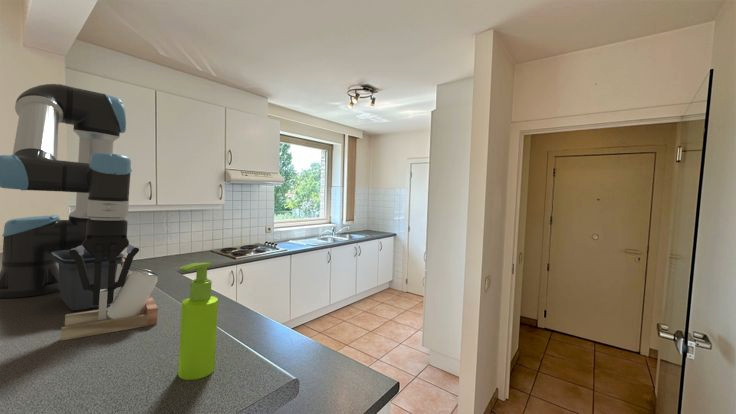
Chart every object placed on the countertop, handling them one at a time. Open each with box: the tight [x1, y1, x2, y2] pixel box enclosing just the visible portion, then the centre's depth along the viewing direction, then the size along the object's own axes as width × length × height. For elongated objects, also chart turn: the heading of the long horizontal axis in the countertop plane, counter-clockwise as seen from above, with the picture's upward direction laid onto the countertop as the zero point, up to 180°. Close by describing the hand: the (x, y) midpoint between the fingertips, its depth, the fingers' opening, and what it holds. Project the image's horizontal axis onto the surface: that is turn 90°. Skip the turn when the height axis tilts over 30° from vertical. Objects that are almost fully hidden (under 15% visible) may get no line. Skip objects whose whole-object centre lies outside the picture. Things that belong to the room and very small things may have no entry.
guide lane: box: [60, 296, 159, 342], centre depth 75 cm, size 10×17×4 cm, turn 130°
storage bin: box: [51, 249, 127, 312], centre depth 91 cm, size 21×16×14 cm
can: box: [107, 267, 159, 320], centre depth 78 cm, size 6×6×12 cm
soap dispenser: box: [177, 261, 219, 381], centre depth 57 cm, size 6×7×20 cm
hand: (102, 317), depth 74 cm, fingers closed
